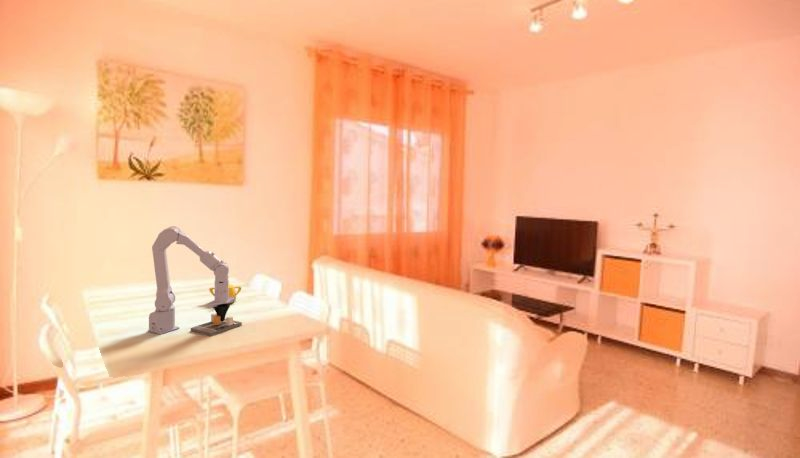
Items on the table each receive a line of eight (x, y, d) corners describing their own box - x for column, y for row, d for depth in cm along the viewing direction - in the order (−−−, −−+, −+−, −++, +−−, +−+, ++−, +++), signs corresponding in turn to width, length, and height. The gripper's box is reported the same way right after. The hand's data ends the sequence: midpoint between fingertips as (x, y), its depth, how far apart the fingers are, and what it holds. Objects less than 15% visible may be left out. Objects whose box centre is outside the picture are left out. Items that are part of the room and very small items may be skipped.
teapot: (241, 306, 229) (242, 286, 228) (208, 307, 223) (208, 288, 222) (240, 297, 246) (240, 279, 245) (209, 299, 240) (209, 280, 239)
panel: (211, 336, 183) (211, 324, 182) (190, 331, 188) (190, 319, 187) (241, 325, 198) (241, 314, 198) (222, 321, 203) (222, 310, 203)
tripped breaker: (216, 325, 191) (216, 317, 191) (213, 324, 192) (213, 316, 192) (220, 323, 193) (220, 316, 193) (217, 323, 194) (217, 315, 194)
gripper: (214, 295, 185) (214, 326, 187) (240, 288, 199) (240, 318, 200) (202, 292, 188) (202, 323, 190) (229, 286, 201) (229, 315, 203)
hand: (221, 320), depth 195 cm, fingers closed
